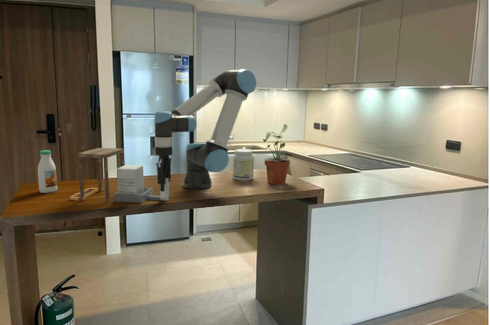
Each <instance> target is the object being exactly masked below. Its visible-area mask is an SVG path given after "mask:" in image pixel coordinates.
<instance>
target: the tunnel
mask: <svg viewBox="0 0 490 325" xmlns="http://www.w3.org/2000/svg"><path fill="white" fill-rule="evenodd" d="M124 153H125V149H124V148H111V147H110V148H108V147H96V148H92V149H89V150H86V151H81V152H78V153H77V166H78V180H79V192H80V198H81V200H80V201H82V202H83V201H86V200H85V199H86V198H85V197H84V190H85V185H84V171H83V170H84V169H83V158H90V159H91V158H92V159H93V158H94V159H95V158H96V160H97V161H96V162H97V179H98V188H99V191H98V192H103V176H104V194H105V195H104V198H105V203H110V202H111V201H110V186H109V181H110V180H109V161H108V158H111V157H113V156H115V155H120V156H119V158H120V167H122V166H124V165H125V154H124ZM102 159H103V172H104V173H103V172H102ZM103 174H104V175H103Z"/></svg>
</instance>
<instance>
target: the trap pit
mask: <svg viewBox="0 0 490 325" xmlns="http://www.w3.org/2000/svg"><path fill="white" fill-rule="evenodd" d="M98 192H100V191H99V187H98V188H97V187H88V188H86V189H84V197H85V199H86V198H87V197H90V196H91V195H93V194H94V195H95V193H98ZM68 200H69V201H79V202H80V201H81V198H80V191H79V192H77V193H75V194H73V195H71V196H68Z"/></svg>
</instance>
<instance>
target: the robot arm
mask: <svg viewBox="0 0 490 325" xmlns="http://www.w3.org/2000/svg"><path fill="white" fill-rule="evenodd" d="M256 88H257V79H256V76H255V74H254V73H253V72H252V70H250V69H244V68H239V69H229V70H226V71H223V72H222V73H220V74H219V75H217V76H216V77H214V78H213V79H211V80H210V81H209V82H208V85H206V86H205V87H203V88H202V89H201V90H199V91H198V92H196V93H195V94H194V95H192V96H191V97H190V98H188V99H187V100H185V101H184V102H182V103H181V104H180V105H178V106H177V107H176V108H174V109H172V110H171V111H167V110H166V111H163V110H161V111H159V110H157V111H155V113H154V121H153V122H154V139H153V140H154V143H155V148H154V149H155V150H154V153H155V156H158V162H156V163H155V165H156V173H157V175H156V176H157V184H158V185H159V196H160V198H166V184H165V178H168V191H169V192H170V182H171V181H172V180H171V176H172V175H171V170H172V169H171V167H172V166H171V165H172V164H171V163H172V158H171V157H170V156H172V155H173V133H186V132H187V133H190V132H194V131H195V130H196V128H197V119H196V117H195V116H193V115H194V114H196V113H197V112H198V111H200V110H201V109H203V108H204V107H205V106H207V105H208V104H209V103H211V102H212V101H214V100H215V99H216V98H220V97H222V96H224V95H225V94H226V97H225V100H224V102H223V105H222V107H221V110H220V113H219V116H218V117H217V121H216V124H215V126H214V129H213V132H212V135H211V136H210V139H208V140H206V142H196V143H188V144H186V149H185V155H186V156H185V157H186V158H185V160H186V162H185V164H186V169H185V170H186V172H185V176H184V178H183V181H182V182H183V183H182V186H183V188H186V189H189V190H204V189H208V188H211V187H212V186H213V185H212V184H213V182H212V178H211V176H210V173H220V172H222V171H223V170H225V169H226V168H227V166H228V164H229V162H230V157H229V153H228V151H229V148H228V143H229V140H230V136H231V135H232V132H233V129H234V126H235V124H236V121H237V118H238V115H239V113H240V109H241V107H242V103H244V102H245V101H246V100H247V99H248V97H249V95H250V94H252V93H253V92H255V90H256Z"/></svg>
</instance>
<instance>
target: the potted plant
mask: <svg viewBox="0 0 490 325" xmlns="http://www.w3.org/2000/svg"><path fill="white" fill-rule="evenodd" d="M286 131H288V125H287V124H283V128H282V129H281V131H280V132H279V133H278V135H276V133H275V132H274V131H272V132H271V131H268V132H267V133H266V135H265V139H264V138H263V139H262V140H263V143H266V142H267V141H268V140H269V138H271V136H272V137H274V138H275V139H277V141H274V142H272V143H273V147H274V151H273V150H272V148H271V145H272V144H271V143H270V144H268V145H267V146H266V147H265V149H264V150H265V151H267V149H269V151H270V152H271V153H272V157H267V158H264V165H265V168H266V178H267V179H266V180H267V183H270V184H271V185H272V184H273V185H279V186H282V185H285V184H286V183H287V182H286V181H287V176H288V170H289V166H290V165H291V160H290V159H288V158H285V157H284V158H283V157H281V154H282V150H283V148H284V147H285V146H286V142H280V141H282V139H283V138H282V137H283V134H284V133H286ZM280 139H281V140H280ZM279 143H280V145H279V148H278V144H279Z"/></svg>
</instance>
